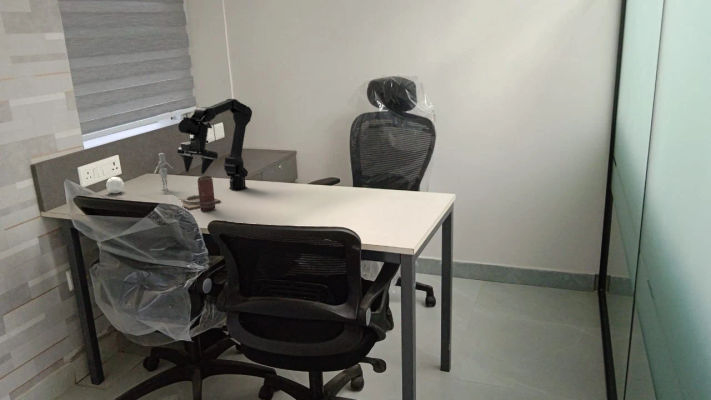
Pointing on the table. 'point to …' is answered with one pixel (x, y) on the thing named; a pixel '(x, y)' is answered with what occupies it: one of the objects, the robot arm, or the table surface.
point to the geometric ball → (115, 185)
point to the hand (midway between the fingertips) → (194, 172)
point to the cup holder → (193, 202)
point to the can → (206, 194)
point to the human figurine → (162, 170)
